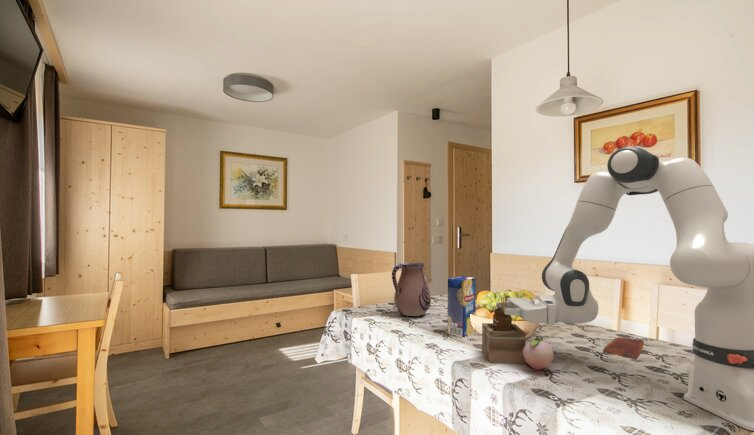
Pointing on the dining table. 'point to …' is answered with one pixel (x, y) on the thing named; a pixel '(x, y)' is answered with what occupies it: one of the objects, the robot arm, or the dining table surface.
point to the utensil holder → (501, 318)
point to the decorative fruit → (538, 353)
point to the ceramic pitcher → (411, 289)
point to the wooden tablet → (625, 347)
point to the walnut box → (503, 344)
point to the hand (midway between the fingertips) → (500, 308)
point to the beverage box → (460, 305)
